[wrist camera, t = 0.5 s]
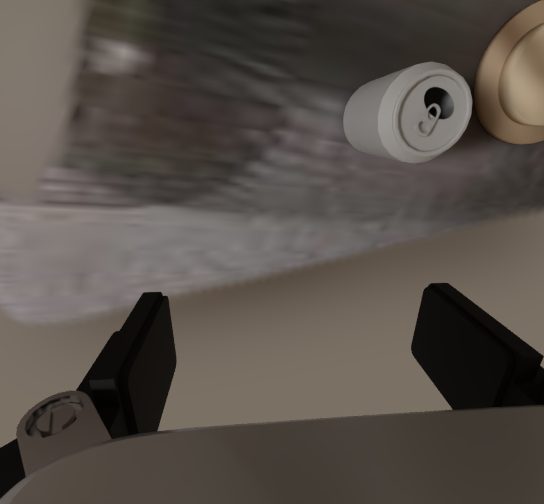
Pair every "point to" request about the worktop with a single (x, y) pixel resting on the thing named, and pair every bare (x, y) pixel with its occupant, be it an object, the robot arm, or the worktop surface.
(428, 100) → the can
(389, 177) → the worktop surface
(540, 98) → the plinth
